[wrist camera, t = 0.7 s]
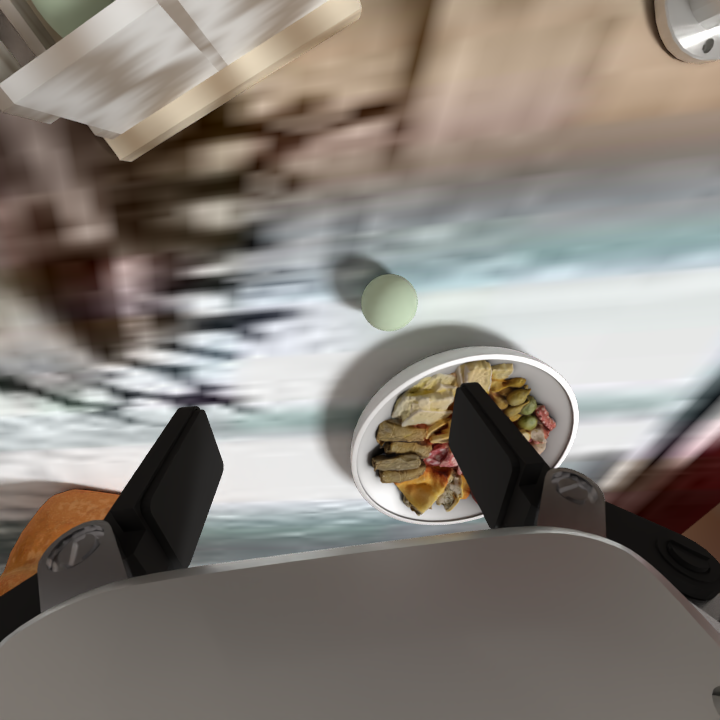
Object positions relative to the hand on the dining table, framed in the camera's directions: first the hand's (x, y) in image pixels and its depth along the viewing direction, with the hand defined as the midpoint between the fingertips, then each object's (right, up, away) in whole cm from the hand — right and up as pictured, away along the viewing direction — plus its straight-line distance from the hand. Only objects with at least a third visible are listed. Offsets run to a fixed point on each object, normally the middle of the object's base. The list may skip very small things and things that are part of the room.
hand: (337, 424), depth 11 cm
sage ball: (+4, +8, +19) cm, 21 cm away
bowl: (+14, -8, +33) cm, 36 cm away
